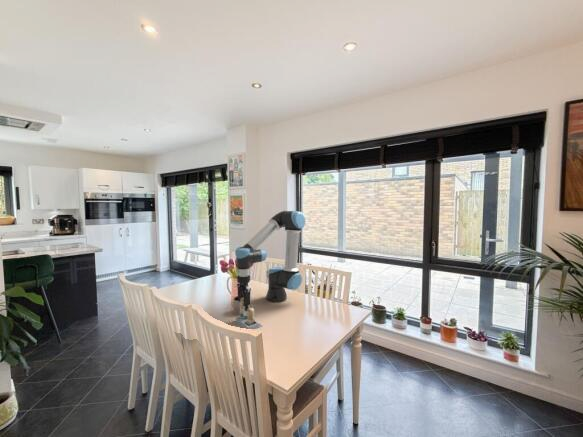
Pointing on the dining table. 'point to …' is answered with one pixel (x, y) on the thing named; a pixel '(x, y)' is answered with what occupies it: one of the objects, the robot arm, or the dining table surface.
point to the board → (242, 323)
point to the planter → (237, 306)
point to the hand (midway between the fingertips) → (244, 314)
